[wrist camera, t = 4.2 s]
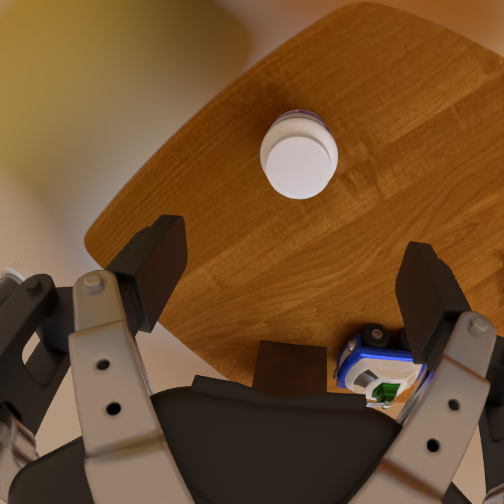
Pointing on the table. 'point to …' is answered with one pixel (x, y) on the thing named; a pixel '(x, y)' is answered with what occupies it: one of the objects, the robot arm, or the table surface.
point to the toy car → (377, 366)
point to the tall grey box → (290, 369)
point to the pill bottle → (299, 154)
